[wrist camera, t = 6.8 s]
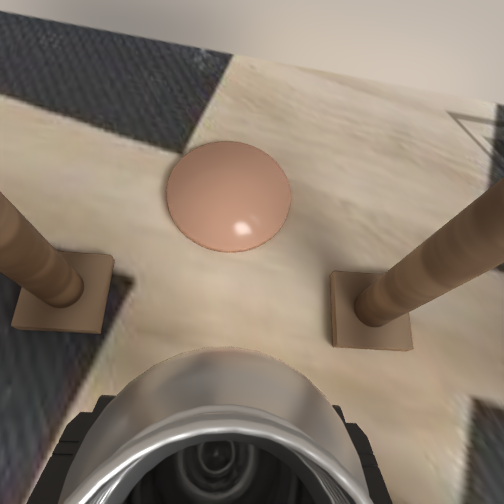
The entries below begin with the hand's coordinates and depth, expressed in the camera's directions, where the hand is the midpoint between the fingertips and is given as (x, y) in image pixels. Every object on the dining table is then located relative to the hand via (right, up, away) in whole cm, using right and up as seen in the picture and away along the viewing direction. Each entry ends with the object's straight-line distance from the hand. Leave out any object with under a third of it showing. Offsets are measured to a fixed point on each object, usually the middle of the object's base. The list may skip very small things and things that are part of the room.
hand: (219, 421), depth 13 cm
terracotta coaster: (-1, +10, +22) cm, 25 cm away
